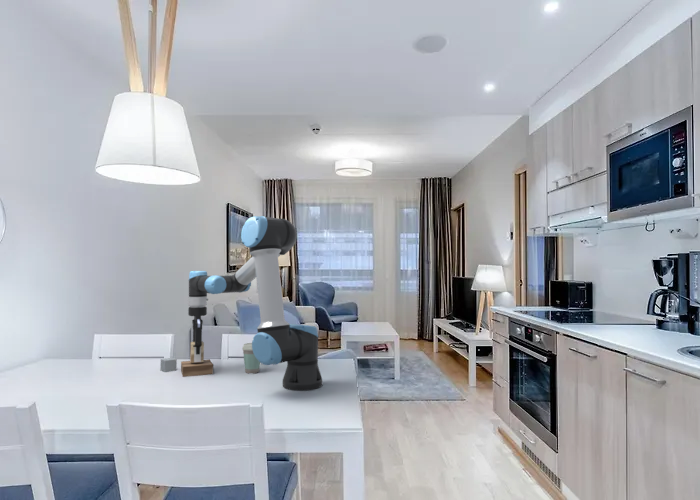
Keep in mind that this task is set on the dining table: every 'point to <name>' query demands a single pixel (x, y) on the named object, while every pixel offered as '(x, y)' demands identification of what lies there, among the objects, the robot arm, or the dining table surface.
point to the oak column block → (193, 352)
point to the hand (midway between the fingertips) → (196, 360)
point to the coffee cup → (250, 359)
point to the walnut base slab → (196, 368)
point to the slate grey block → (168, 364)
